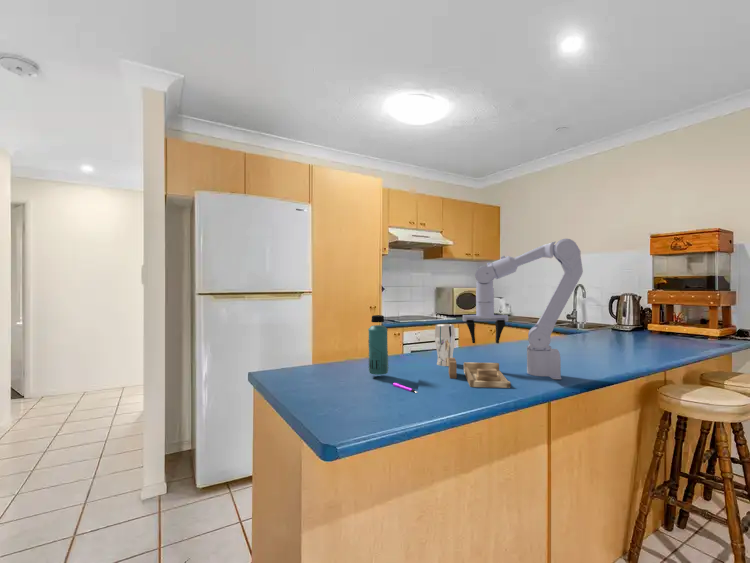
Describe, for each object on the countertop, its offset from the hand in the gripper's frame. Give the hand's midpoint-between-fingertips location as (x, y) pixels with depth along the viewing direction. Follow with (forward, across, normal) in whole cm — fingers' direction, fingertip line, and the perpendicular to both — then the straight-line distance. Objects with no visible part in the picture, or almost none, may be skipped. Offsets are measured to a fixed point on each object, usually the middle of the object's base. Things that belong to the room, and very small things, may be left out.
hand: (485, 342), depth 128 cm
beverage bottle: (+10, +35, +9) cm, 38 cm away
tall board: (+10, +12, +9) cm, 18 cm away
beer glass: (+10, +13, -7) cm, 18 cm away
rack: (+10, +2, +12) cm, 16 cm away
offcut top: (+6, +2, +18) cm, 20 cm away
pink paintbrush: (+11, +23, +23) cm, 35 cm away
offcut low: (+9, +2, +18) cm, 20 cm away
